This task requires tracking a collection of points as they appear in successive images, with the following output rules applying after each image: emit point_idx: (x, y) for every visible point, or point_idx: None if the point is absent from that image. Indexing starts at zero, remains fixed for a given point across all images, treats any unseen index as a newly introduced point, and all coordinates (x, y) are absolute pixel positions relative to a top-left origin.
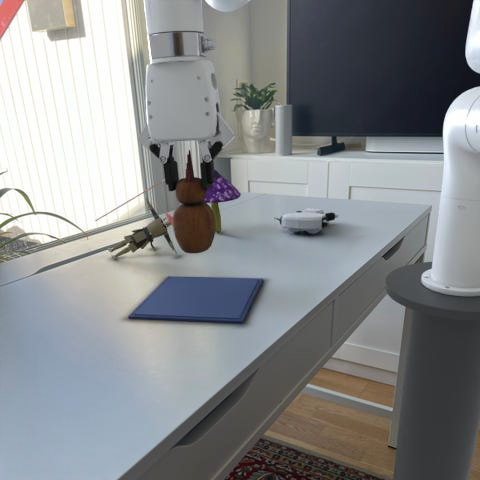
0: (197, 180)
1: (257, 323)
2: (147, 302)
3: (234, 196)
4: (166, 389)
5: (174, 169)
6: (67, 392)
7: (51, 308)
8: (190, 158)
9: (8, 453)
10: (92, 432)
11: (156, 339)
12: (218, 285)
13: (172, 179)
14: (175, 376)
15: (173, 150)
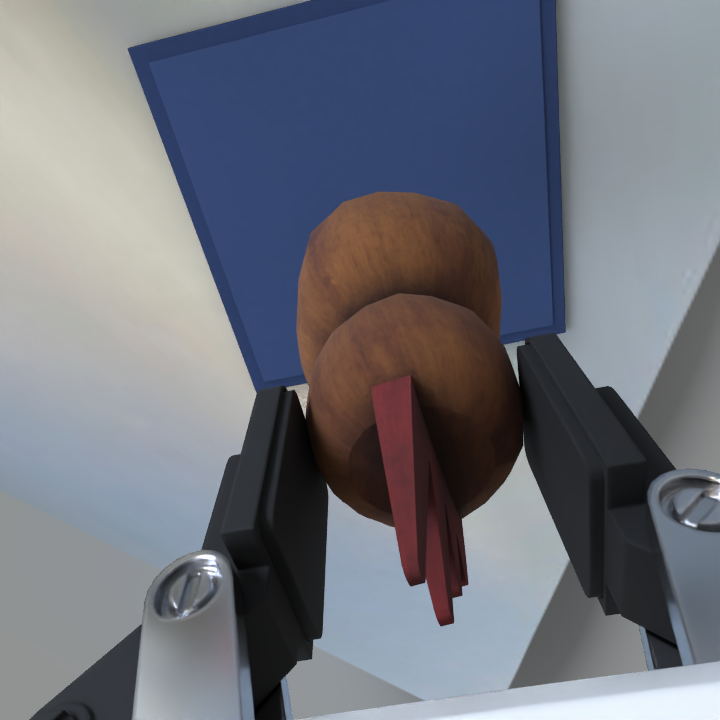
0: (501, 482)
1: (601, 315)
2: (244, 310)
3: None
4: (498, 556)
5: (302, 545)
6: (354, 598)
7: (2, 400)
8: (423, 522)
9: (379, 675)
10: (449, 635)
11: None
12: (396, 97)
13: (325, 543)
14: (496, 529)
15: (245, 658)
